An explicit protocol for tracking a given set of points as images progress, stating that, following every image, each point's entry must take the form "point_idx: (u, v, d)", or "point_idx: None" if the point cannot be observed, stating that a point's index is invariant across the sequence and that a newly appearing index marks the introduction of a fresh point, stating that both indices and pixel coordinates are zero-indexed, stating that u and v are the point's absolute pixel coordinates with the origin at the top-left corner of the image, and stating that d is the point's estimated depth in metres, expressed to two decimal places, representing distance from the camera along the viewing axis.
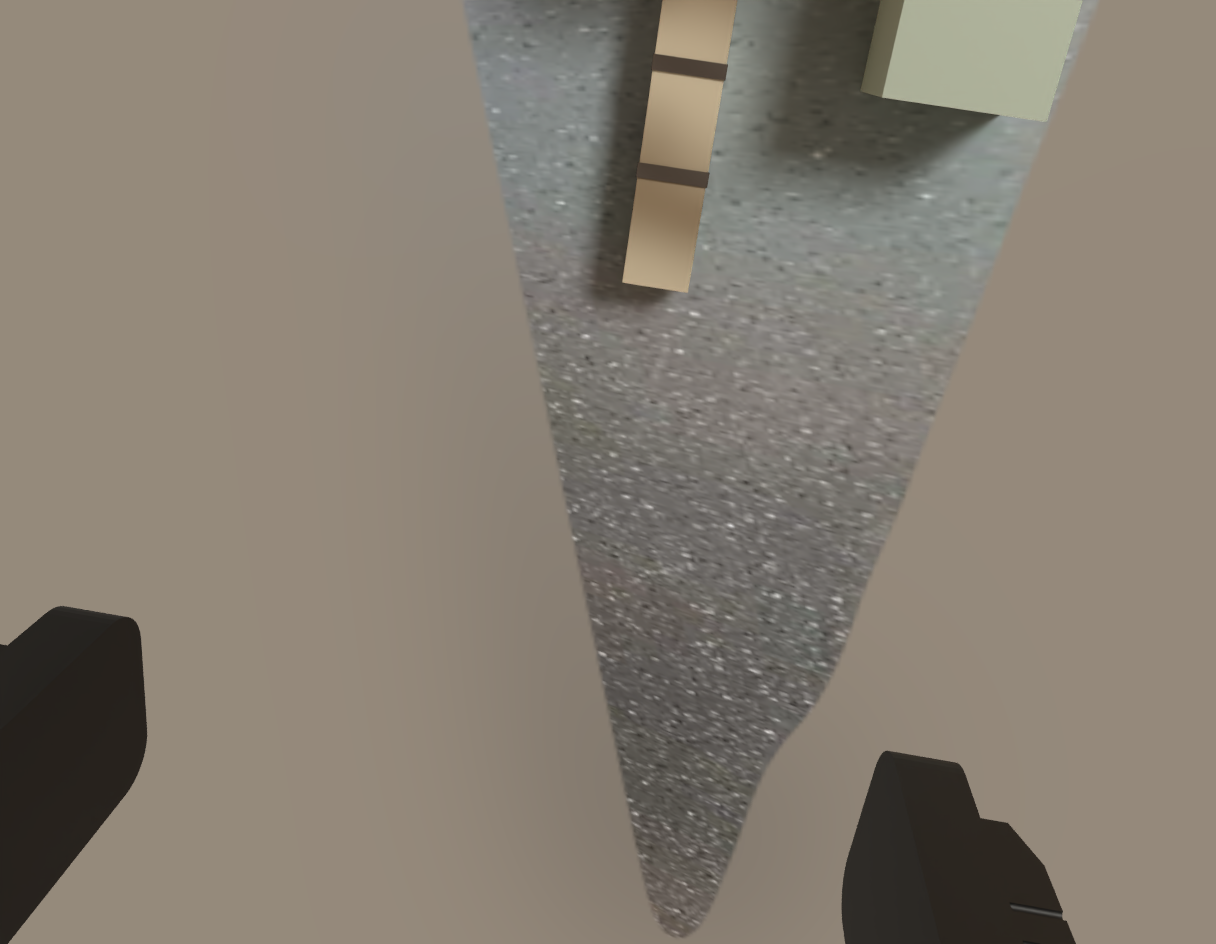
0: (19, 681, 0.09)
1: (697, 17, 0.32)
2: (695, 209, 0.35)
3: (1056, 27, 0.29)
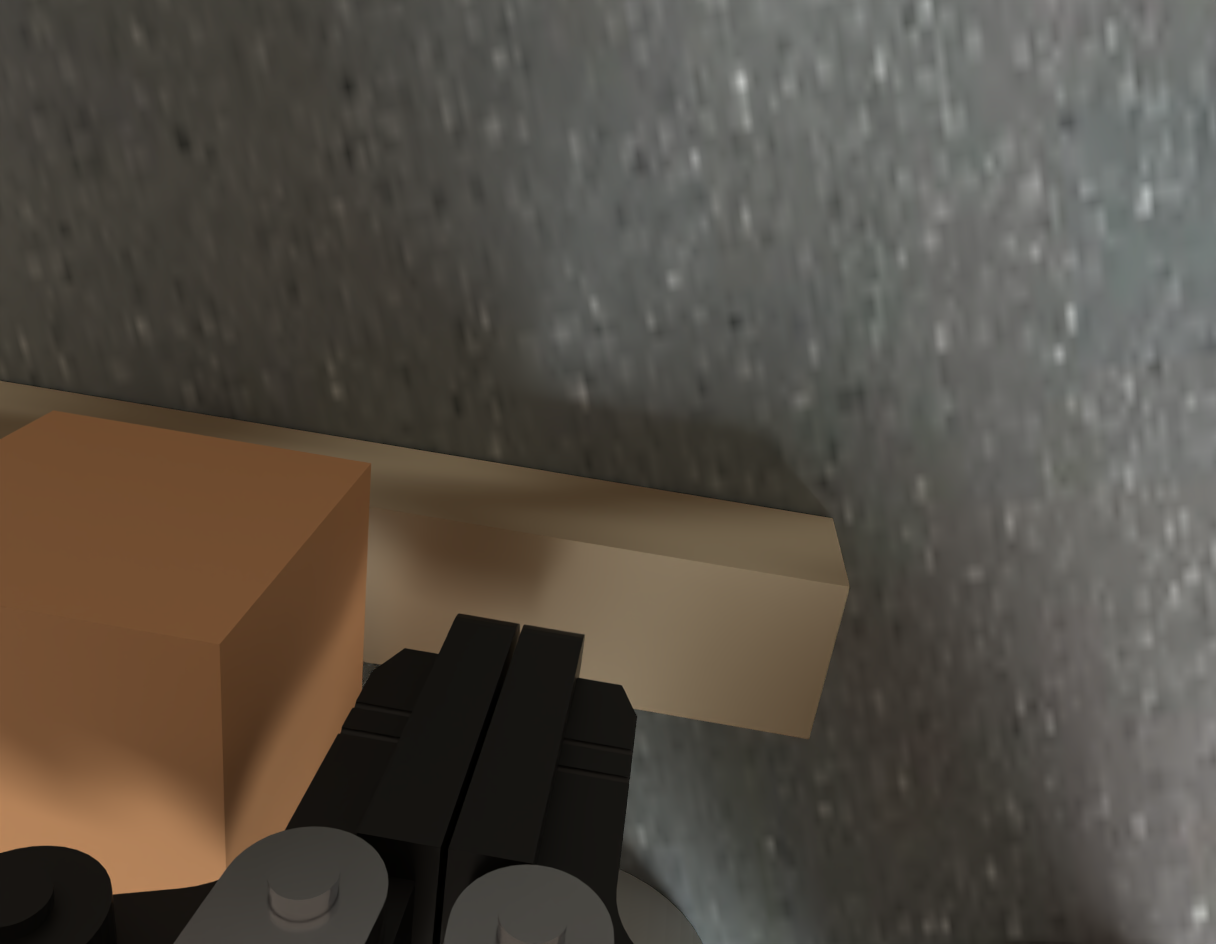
0: (470, 682, 0.10)
1: None
2: None
3: None
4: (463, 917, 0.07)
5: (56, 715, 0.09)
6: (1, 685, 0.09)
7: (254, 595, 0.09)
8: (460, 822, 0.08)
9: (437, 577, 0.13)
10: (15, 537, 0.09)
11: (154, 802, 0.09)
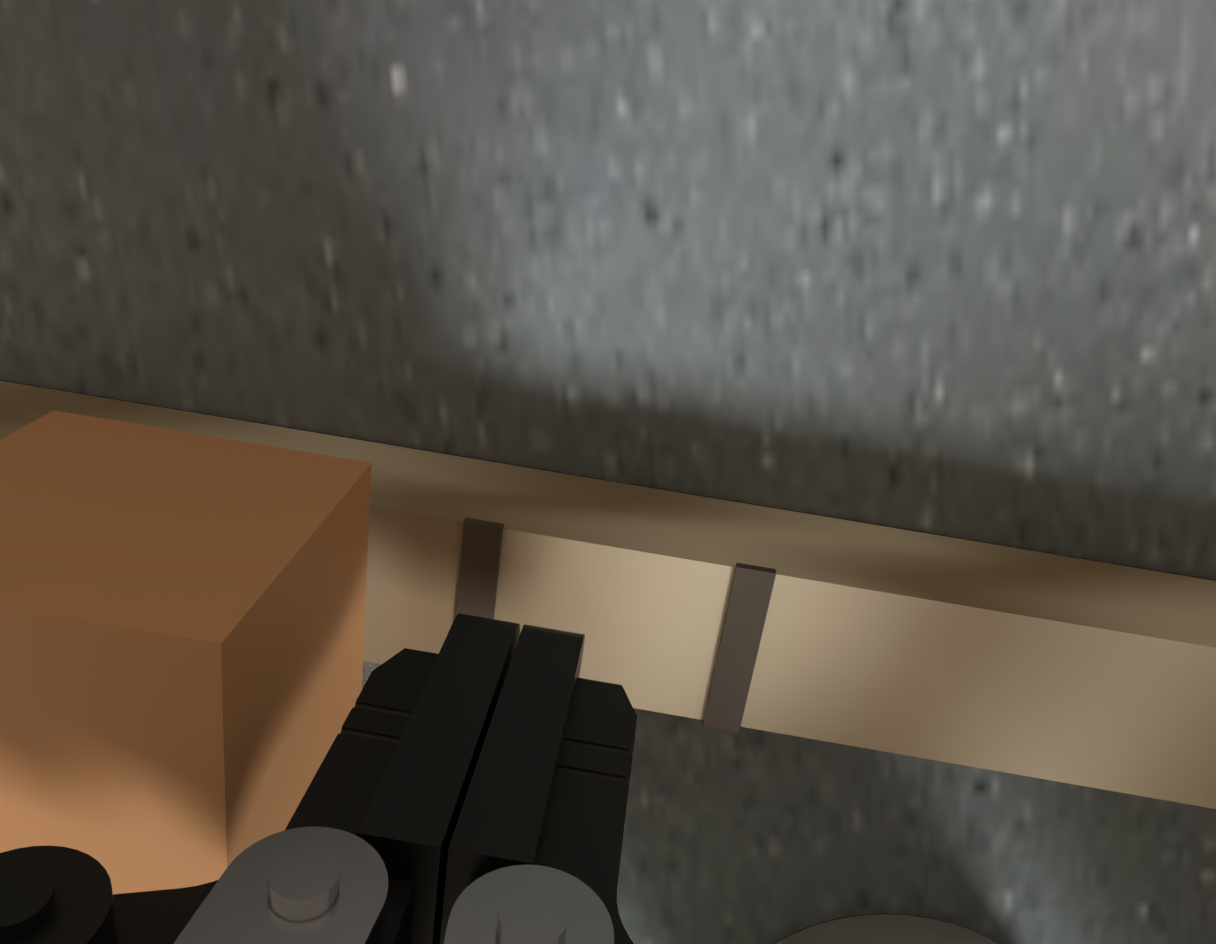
0: (470, 682, 0.10)
1: None
2: None
3: None
4: (463, 918, 0.07)
5: (57, 716, 0.09)
6: (2, 685, 0.09)
7: (255, 593, 0.09)
8: (460, 822, 0.08)
9: (916, 658, 0.13)
10: (15, 536, 0.09)
11: (155, 802, 0.09)
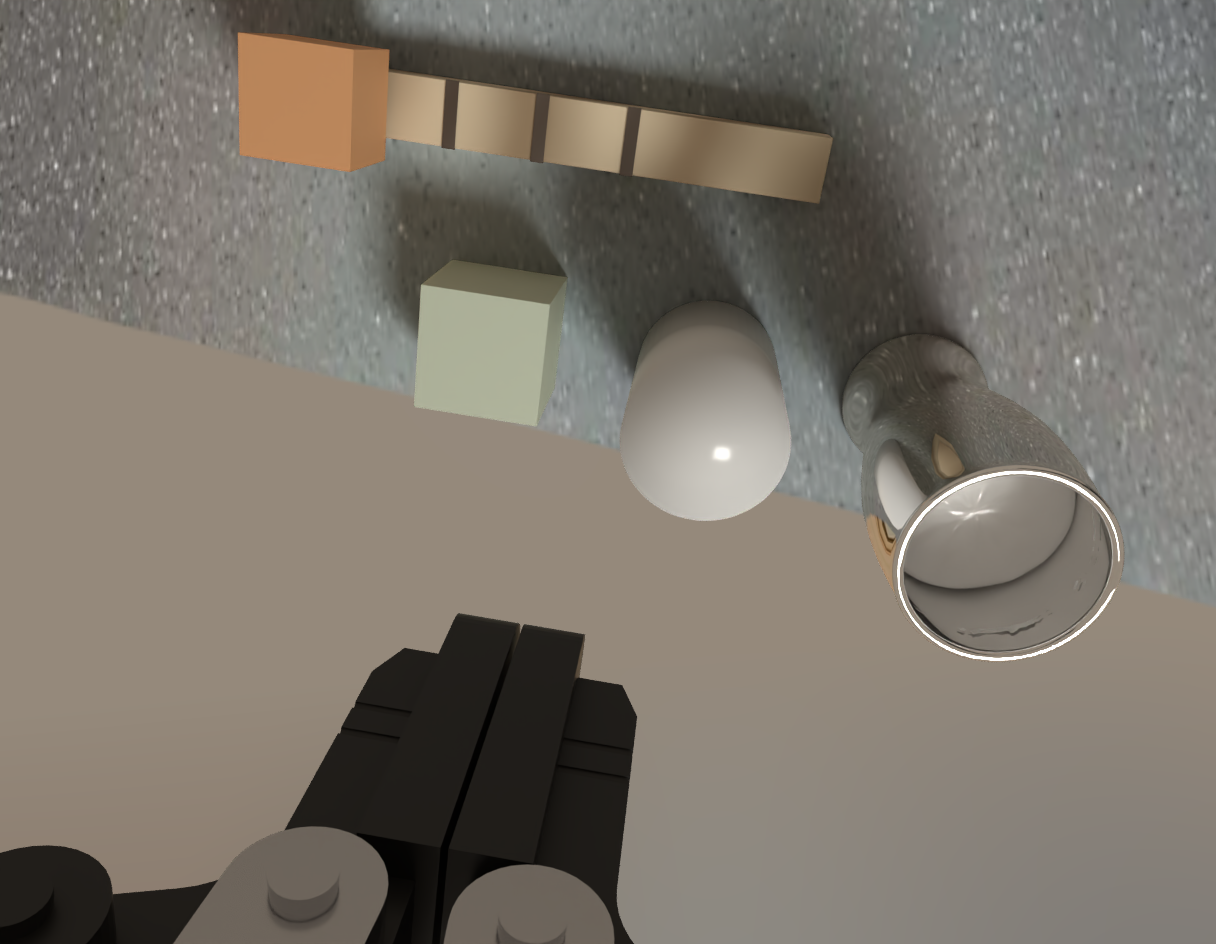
0: (470, 683, 0.10)
1: (489, 121, 0.38)
2: None
3: (477, 405, 0.40)
4: (463, 918, 0.07)
5: (308, 76, 0.34)
6: (294, 68, 0.34)
7: (359, 49, 0.34)
8: (460, 822, 0.08)
9: (690, 141, 0.38)
10: (292, 39, 0.34)
11: (333, 105, 0.34)
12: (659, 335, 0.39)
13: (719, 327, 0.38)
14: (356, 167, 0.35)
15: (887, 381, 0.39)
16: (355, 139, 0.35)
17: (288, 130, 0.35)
